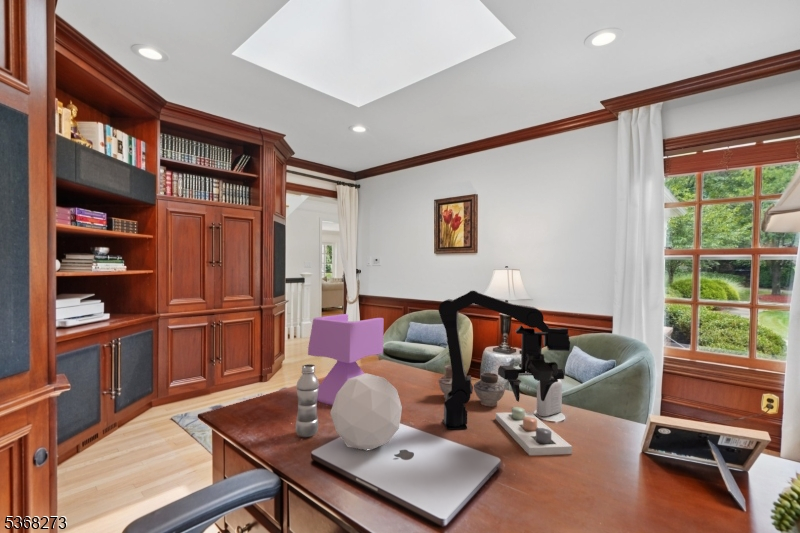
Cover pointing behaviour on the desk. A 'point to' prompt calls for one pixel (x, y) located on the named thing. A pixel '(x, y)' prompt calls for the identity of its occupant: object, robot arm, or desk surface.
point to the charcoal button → (543, 436)
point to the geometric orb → (366, 411)
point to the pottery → (477, 387)
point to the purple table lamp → (343, 348)
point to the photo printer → (550, 400)
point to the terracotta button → (529, 424)
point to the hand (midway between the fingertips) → (530, 400)
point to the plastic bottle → (307, 402)
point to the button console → (533, 436)
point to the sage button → (518, 413)
